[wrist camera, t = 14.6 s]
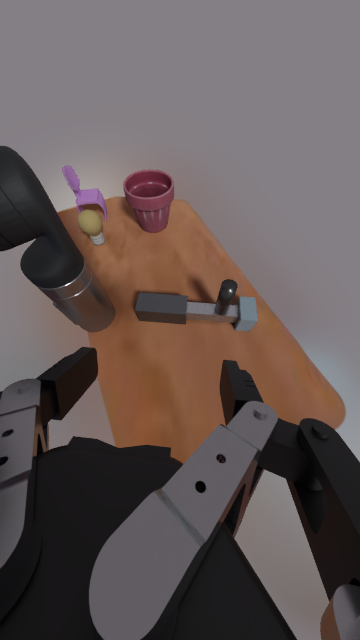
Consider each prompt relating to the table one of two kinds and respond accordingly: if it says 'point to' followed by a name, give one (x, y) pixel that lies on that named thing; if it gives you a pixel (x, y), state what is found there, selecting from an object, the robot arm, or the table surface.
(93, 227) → the light bulb
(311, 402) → the table surface
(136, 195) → the plant pot
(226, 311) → the block with knob
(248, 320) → the socket
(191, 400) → the table surface
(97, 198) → the toy chair
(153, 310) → the sleeve
